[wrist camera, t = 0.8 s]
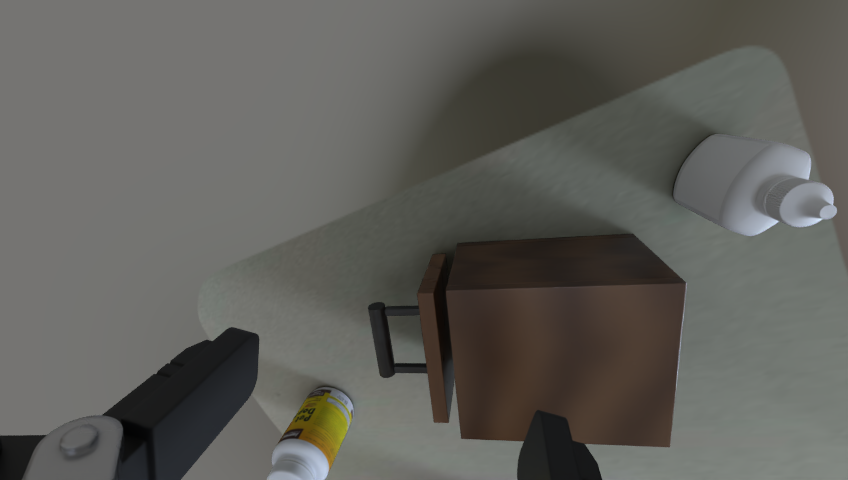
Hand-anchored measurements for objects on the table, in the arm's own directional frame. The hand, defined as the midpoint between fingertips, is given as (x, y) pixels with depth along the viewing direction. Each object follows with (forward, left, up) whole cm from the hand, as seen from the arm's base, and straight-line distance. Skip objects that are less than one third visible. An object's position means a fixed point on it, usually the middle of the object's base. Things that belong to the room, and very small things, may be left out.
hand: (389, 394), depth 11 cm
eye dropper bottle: (+1, -19, -25) cm, 31 cm away
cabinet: (-10, -7, -25) cm, 27 cm away
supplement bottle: (-22, +16, -25) cm, 37 cm away
